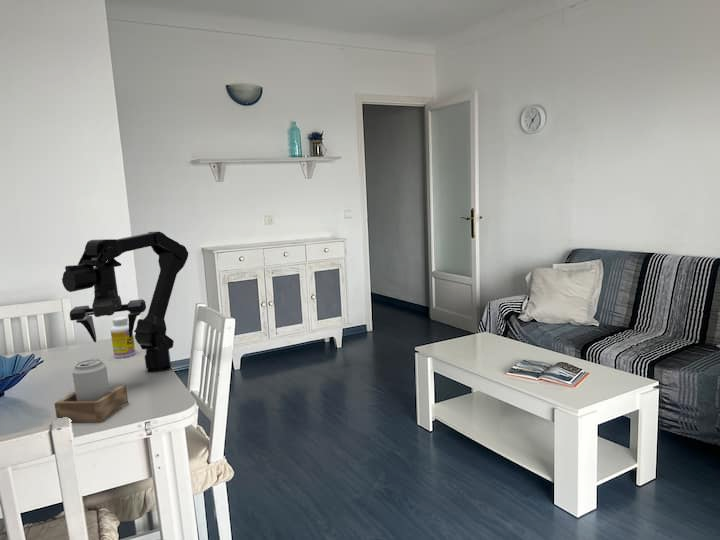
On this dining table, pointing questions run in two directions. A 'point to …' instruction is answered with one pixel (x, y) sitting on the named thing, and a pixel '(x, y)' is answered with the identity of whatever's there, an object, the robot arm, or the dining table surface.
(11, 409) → the dining table surface
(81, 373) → the can
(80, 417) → the u rest
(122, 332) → the supplement bottle
